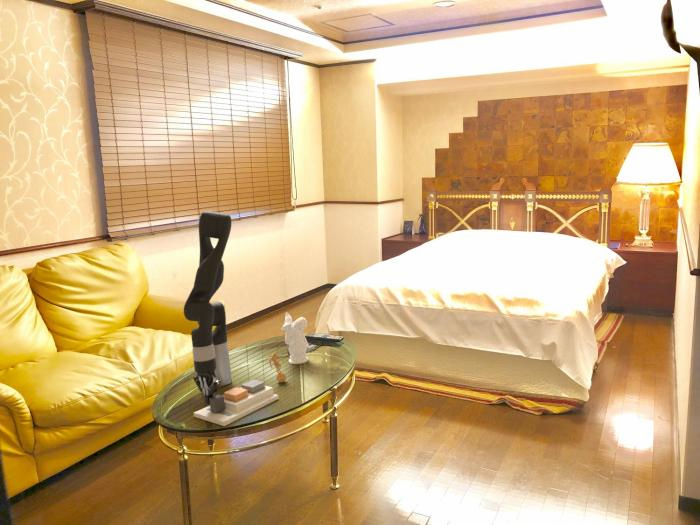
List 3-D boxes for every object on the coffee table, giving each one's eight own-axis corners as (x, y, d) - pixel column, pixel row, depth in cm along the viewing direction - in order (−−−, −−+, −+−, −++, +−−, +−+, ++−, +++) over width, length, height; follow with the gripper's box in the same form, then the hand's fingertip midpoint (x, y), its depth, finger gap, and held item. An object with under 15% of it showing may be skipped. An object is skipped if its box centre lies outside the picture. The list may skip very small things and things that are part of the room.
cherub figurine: (314, 361, 253) (310, 312, 250) (292, 369, 245) (288, 319, 241) (296, 355, 262) (292, 309, 258) (274, 363, 253) (270, 315, 249)
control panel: (194, 416, 202) (192, 405, 201) (248, 391, 222) (247, 381, 222) (224, 426, 192) (222, 414, 192) (278, 398, 212) (277, 388, 212)
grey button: (242, 392, 213) (241, 384, 212) (254, 387, 217) (253, 379, 217) (253, 395, 209) (252, 387, 209) (265, 390, 214) (264, 382, 213)
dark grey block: (210, 411, 200) (209, 398, 200) (219, 407, 204) (218, 394, 203) (216, 413, 199) (214, 399, 198) (225, 409, 202) (223, 395, 201)
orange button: (224, 401, 206) (223, 392, 206) (237, 395, 211) (236, 387, 210) (235, 404, 203) (234, 395, 202) (248, 398, 207) (247, 389, 207)
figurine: (280, 386, 225) (277, 357, 223) (267, 385, 228) (264, 356, 226) (291, 379, 232) (288, 350, 230) (279, 377, 235) (276, 349, 233)
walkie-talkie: (300, 357, 260) (325, 345, 277) (299, 348, 259) (324, 336, 276) (285, 355, 265) (310, 343, 281) (284, 346, 264) (309, 334, 281)
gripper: (225, 356, 199) (230, 403, 202) (201, 351, 207) (206, 396, 210) (207, 362, 193) (213, 411, 196) (183, 357, 202) (189, 404, 204)
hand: (209, 403), depth 203 cm, fingers closed
